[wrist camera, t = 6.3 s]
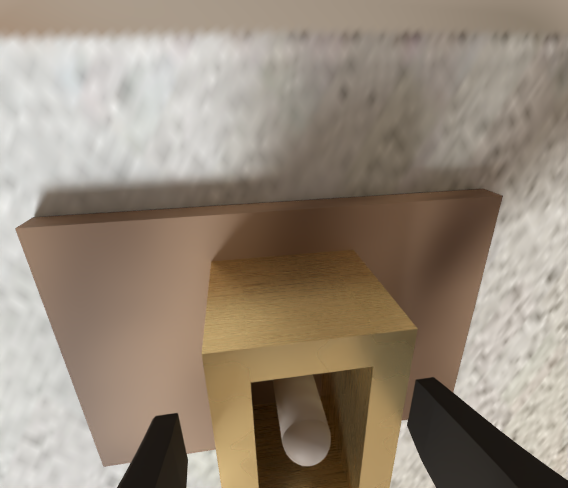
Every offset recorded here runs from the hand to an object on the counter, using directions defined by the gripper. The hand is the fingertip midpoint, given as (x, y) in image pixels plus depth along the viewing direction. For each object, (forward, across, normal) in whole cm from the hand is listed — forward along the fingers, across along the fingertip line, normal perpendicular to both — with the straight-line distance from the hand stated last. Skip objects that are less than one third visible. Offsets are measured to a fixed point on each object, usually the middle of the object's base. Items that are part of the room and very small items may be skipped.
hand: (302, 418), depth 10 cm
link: (+3, 0, 0) cm, 3 cm away
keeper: (+4, 0, 0) cm, 4 cm away
